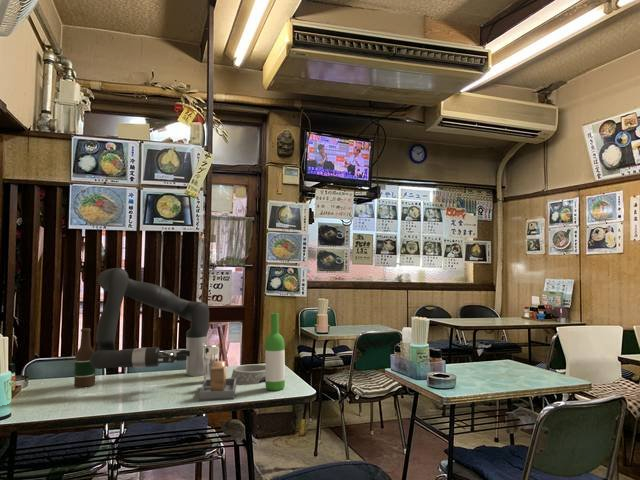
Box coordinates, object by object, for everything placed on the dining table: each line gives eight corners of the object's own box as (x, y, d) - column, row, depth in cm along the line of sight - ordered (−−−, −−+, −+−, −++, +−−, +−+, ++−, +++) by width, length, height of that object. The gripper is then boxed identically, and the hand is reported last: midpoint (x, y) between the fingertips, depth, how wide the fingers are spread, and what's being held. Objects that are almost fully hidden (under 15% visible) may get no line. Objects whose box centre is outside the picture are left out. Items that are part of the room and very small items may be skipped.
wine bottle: (277, 392, 180) (277, 314, 182) (261, 389, 184) (261, 313, 186) (288, 387, 187) (287, 312, 189) (272, 385, 191) (272, 312, 193)
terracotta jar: (215, 386, 189) (214, 361, 189) (227, 385, 189) (226, 360, 189) (212, 389, 184) (211, 363, 184) (224, 388, 184) (223, 362, 184)
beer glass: (214, 383, 195) (214, 347, 196) (199, 383, 197) (199, 347, 198) (221, 379, 202) (221, 345, 203) (206, 379, 203) (206, 344, 205)
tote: (205, 387, 190) (205, 379, 190) (236, 385, 191) (236, 378, 192) (198, 400, 169) (198, 392, 169) (233, 398, 171) (233, 390, 171)
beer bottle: (69, 387, 192) (71, 329, 194) (85, 383, 199) (86, 327, 201) (84, 389, 189) (85, 329, 191) (99, 384, 197) (100, 327, 198)
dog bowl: (280, 379, 203) (280, 366, 204) (247, 387, 190) (247, 373, 190) (255, 373, 215) (255, 362, 215) (222, 381, 201) (222, 368, 201)
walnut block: (212, 393, 176) (212, 367, 177) (224, 393, 177) (224, 366, 178) (210, 396, 172) (210, 369, 173) (223, 396, 172) (222, 369, 173)
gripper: (141, 350, 176) (185, 348, 178) (150, 344, 190) (190, 343, 192) (141, 370, 176) (185, 368, 178) (150, 363, 190) (190, 361, 192)
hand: (188, 355), depth 185 cm, fingers open, 8 cm apart
